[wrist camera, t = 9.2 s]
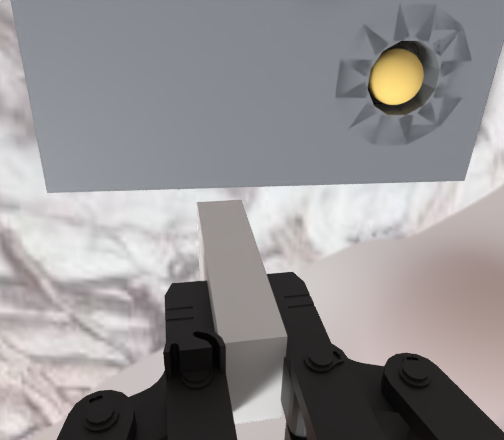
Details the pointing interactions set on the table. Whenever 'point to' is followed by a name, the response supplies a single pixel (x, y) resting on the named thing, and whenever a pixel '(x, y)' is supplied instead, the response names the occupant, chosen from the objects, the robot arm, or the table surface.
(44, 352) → the table surface
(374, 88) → the ball
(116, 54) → the grey flat block
